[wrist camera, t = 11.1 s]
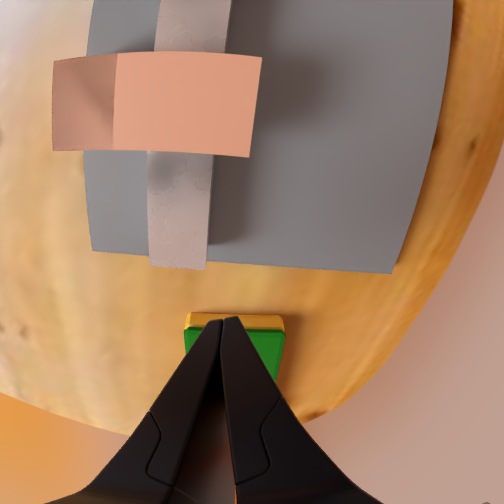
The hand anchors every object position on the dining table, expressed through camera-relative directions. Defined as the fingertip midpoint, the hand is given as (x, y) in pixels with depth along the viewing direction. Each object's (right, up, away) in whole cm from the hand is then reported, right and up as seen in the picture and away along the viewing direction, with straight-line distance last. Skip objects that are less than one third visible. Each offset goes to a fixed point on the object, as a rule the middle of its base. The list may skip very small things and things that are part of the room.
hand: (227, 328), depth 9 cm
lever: (-2, +10, +5) cm, 12 cm away
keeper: (-4, +10, +5) cm, 12 cm away
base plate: (+2, +11, +6) cm, 13 cm away
